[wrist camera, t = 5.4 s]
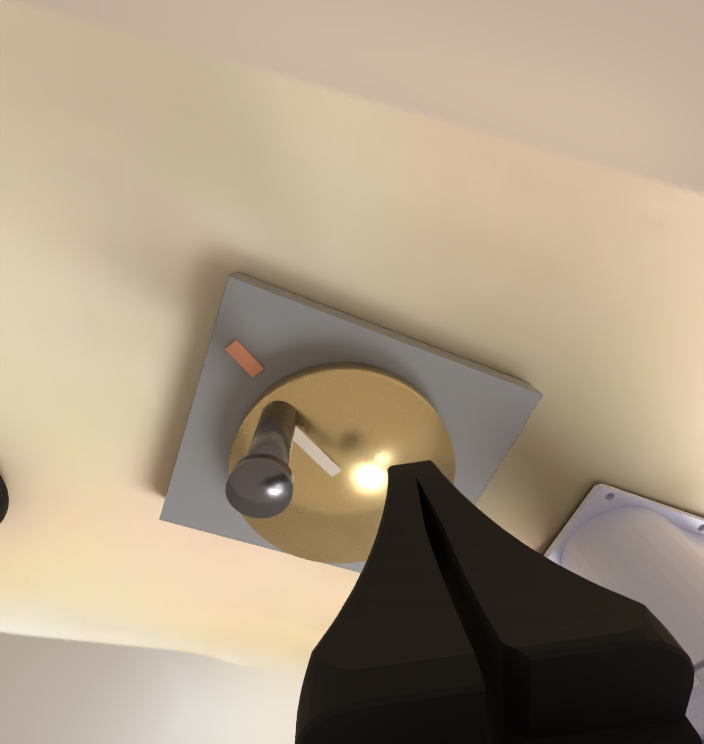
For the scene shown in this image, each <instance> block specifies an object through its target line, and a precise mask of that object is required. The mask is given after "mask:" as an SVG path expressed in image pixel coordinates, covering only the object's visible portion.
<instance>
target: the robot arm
mask: <svg viewBox="0 0 704 744" xmlns="http://www.w3.org/2000/svg"><path fill="white" fill-rule="evenodd" d="M387 472H388V487H387V495H386V500H385V505H384V510H383V514H382V518H381V521H380V525H379V528H378V532H377V535H376V538H375V541H374V544H373V546H372V549H371V551H370V554H369V556H368V559H367V561H366V563H365V566H364V568H363V570H362V572H361V574H360V576H359V578H358V580H357V582H356V584H355V586H354V588H353V590H352V592H351V594H350V595H349V597H348V599H347V600H346V602H345V604H344V605H343V607H342V609H341V610H340V612H339V614H338V616H337V617H336V619H335V620H334V622H333V623H332V625H331V626H330V627H329V629H328V630H327V632H326V633H325V634H324V636H323V637H322V639H321V640H320V641H319V643H318V644H317V646H316V647H315V648H314V650H313V651H312V654H311V657H310V660H309V663H308V667H307V670H306V674H305V677H304V681H303V685H302V689H301V694H300V700H299V706H298V711H297V721H296V735H295V744H704V518H702V517H699V516H696V515H693V514H690V513H687V512H684V511H681V510H678V509H675V508H672V507H670V506H667V505H664V504H661V503H658V502H655V501H652V500H649V499H646V498H643V497H640V496H638V495H635V494H632V493H629V492H626V491H623V490H620V489H617V488H614V487H611V486H608V485H606V484H597V485H596V486H594V487H593V488H592V490H591V491H590V492H589V494H588V495H587V496H586V498H585V499H584V501H583V502H582V503H581V505H580V506H579V507H578V509H577V510H576V512H575V513H574V514H573V516H572V517H571V518H570V520H569V521H568V522H567V524H566V525H565V527H564V528H563V529H562V531H561V532H560V533H559V535H558V536H557V538H556V539H555V540H554V542H553V543H552V544H551V546H550V547H549V548H548V550H547V551H546V553H545V554H544V555H541V554H540V553H538V552H536V551H535V550H533V549H531V548H530V547H528V546H527V545H525V544H524V543H522V542H521V541H519V540H518V539H516V538H515V537H514V536H512V535H511V534H509V533H508V532H507V531H505V530H504V529H503V528H501V527H500V526H499V525H497V524H496V523H495V522H494V521H492V520H491V519H490V518H489V517H488V516H486V515H485V514H484V513H483V512H482V511H480V510H479V509H478V508H477V507H476V506H475V505H474V504H473V503H472V502H471V501H469V500H468V499H467V498H466V497H465V496H464V495H463V494H462V493H461V492H460V491H459V490H458V489H457V488H456V487H455V486H454V485H453V484H452V483H451V482H450V481H449V480H448V479H447V477H446V476H445V475H444V474H443V473H442V472H441V471H440V470H439V468H438V467H437V466H436V465H435V464H434V463H433V462H432V461H431V460H427V461H420V462H413V463H406V464H399V465H392V466H390V467H389V468H388V469H387ZM609 493H610V494H609ZM607 494H608V495H607ZM606 495H607V496H606Z"/></svg>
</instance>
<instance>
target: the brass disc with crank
mask: <svg viewBox="0 0 704 744" xmlns="http://www.w3.org/2000/svg"><path fill="white" fill-rule="evenodd" d="M427 460H431V461H432V462H433V463H434V464H435V465H436V466H437V467H438V468H439V470H440V471H441V472H442V473H443V474H444V475H445V476H446V477H447V479H448V480H449V481H450V482H451V483H452V484H453V485H454V479H455V472H456V466H455V454H454V448H453V445H452V442H451V439H450V436H449V433H448V432H447V430H446V428H445V426H444V424H443V422H442V420H441V418H440V416H439V414H438V412H437V410H436V408H435V407H434V406H433V404H432V403H431V402H430V400H429V399H428V398H427V397H426V396H425V395H424V394H423V393H422V392H421V391H420V390H419V388H417V387H416V386H415V385H413V384H412V383H411V382H409V381H408V380H406V379H405V378H403V377H401V376H399V375H398V374H396V373H394V372H391V371H389V370H386V369H384V368H381V367H377V366H373V365H370V364H364V363H357V362H331V363H322V364H318V365H314V366H310V367H306V368H304V369H301V370H298V371H296V372H293V373H291V374H289V375H287V376H286V377H284V378H282V379H280V380H279V381H277V382H276V383H274V384H273V385H272V386H270V387H269V388H268V389H267V390H266V391H265V392H264V393H262V394H261V395H260V396H259V397H258V399H257V400H256V401H255V402H254V404H253V405H252V406H251V407H250V409H249V411H248V412H247V414H246V416H245V418H244V419H243V422H242V424H241V426H240V429H239V431H238V433H237V436H236V438H235V441H234V443H233V446H232V450H231V454H230V459H229V478H228V480H227V483H226V488H225V492H226V497H227V499H228V501H229V503H230V504H231V506H232V507H233V508H234V509H235V510H237V511H238V512H239V513H241V514H242V516H243V517H244V519H245V520H246V521H247V523H248V524H249V525H250V526H251V527H252V529H253V530H255V531H256V532H257V533H258V534H259V535H260V536H261V537H262V538H264V539H265V540H266V541H268V542H269V543H271V544H272V545H274V546H275V547H277V548H279V549H281V550H283V551H285V552H287V553H289V554H292V555H294V556H297V557H300V558H304V559H307V560H311V561H317V562H323V563H335V564H337V563H356V562H363V561H367V559H368V556H369V554H370V551H371V549H372V546H373V544H374V541H375V538H376V535H377V532H378V528H379V525H380V521H381V518H382V514H383V510H384V505H385V500H386V495H387V487H388V472H387V469H388V468H389V467H390V466H392V465H399V464H406V463H413V462H420V461H427Z"/></svg>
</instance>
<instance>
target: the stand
mask: <svg viewBox="0 0 704 744" xmlns="http://www.w3.org/2000/svg"><path fill="white" fill-rule="evenodd" d="M331 362H357V363H364V364H370V365H373V366H377V367H381V368H384V369H386V370H389V371H391V372H394V373H396V374H398V375H399V376H401V377H403V378H405V379H406V380H408V381H409V382H411V383H412V384H413V385H415V386H416V387H417V388H419V390H420V391H421V392H422V393H423V394H424V395H425V396H426V397H427V398H428V399H429V400H430V402H431V403H432V404H433V406H434V407H435V408H436V410H437V412H438V414H439V416H440V418H441V420H442V422H443V424H444V426H445V428H446V430H447V432H448V433H449V436H450V439H451V442H452V445H453V448H454V454H455V466H456V472H455V479H454V486H455V487H456V488H457V489H458V490H459V491H460V492H461V493H462V494H463V495H464V496H465V497H466V498H467V499H468V500H469V501H471V502H472V503H473V504H474V505H475V504H476V502H477V501H478V499H479V498H480V496H481V494H482V493H483V491H484V490H485V488H486V486H487V485H488V483H489V481H490V480H491V478H492V477H493V475H494V473H495V472H496V470H497V469H498V467H499V465H500V464H501V462H502V460H503V459H504V457H505V456H506V454H507V452H508V451H509V449H510V447H511V446H512V444H513V443H514V441H515V439H516V438H517V436H518V435H519V433H520V431H521V430H522V428H523V426H524V425H525V423H526V422H527V420H528V418H529V417H530V415H531V414H532V412H533V410H534V409H535V407H536V405H537V404H538V402H539V401H540V399H541V397H542V396H543V395H542V394H541V393H540V392H539V391H537V390H536V389H535V388H534V387H533V386H532V385H531V384H530V383H527V382H525V381H522V380H519V379H517V378H514V377H511V376H509V375H506V374H504V373H501V372H498V371H496V370H493V369H490V368H488V367H485V366H483V365H480V364H477V363H475V362H472V361H469V360H467V359H464V358H462V357H459V356H456V355H454V354H451V353H448V352H446V351H443V350H441V349H438V348H435V347H433V346H430V345H427V344H425V343H422V342H420V341H417V340H414V339H412V338H409V337H407V336H404V335H401V334H399V333H396V332H393V331H391V330H388V329H386V328H383V327H380V326H378V325H375V324H372V323H370V322H367V321H365V320H362V319H359V318H357V317H354V316H351V315H349V314H346V313H344V312H341V311H338V310H336V309H333V308H330V307H328V306H325V305H323V304H320V303H317V302H315V301H312V300H309V299H307V298H304V297H302V296H299V295H296V294H294V293H291V292H289V291H286V290H283V289H281V288H278V287H275V286H273V285H270V284H268V283H265V282H262V281H260V280H257V279H254V278H252V277H249V276H247V275H244V274H241V273H239V272H235V273H234V274H232V275H230V276H229V278H228V281H227V285H226V288H225V292H224V295H223V299H222V302H221V306H220V309H219V313H218V316H217V320H216V323H215V327H214V330H213V334H212V337H211V341H210V344H209V348H208V351H207V355H206V358H205V362H204V365H203V369H202V372H201V376H200V379H199V383H198V386H197V390H196V393H195V397H194V400H193V404H192V407H191V411H190V414H189V418H188V421H187V425H186V428H185V432H184V435H183V439H182V442H181V446H180V449H179V453H178V456H177V460H176V463H175V467H174V470H173V474H172V477H171V481H170V484H169V488H168V491H167V495H166V498H165V502H164V505H163V509H162V512H161V516H160V519H159V520H163V521H166V522H170V523H174V524H178V525H181V526H185V527H189V528H193V529H197V530H200V531H204V532H208V533H212V534H216V535H219V536H223V537H227V538H231V539H235V540H238V541H242V542H246V543H250V544H254V545H257V546H261V547H265V548H269V549H273V550H276V551H280V552H284V553H287V552H285V551H283V550H281V549H279V548H277V547H275V546H274V545H272V544H271V543H269V542H268V541H266V540H265V539H264V538H262V537H261V536H260V535H259V534H258V533H257V532H256V531H255V530H253V529H252V527H251V526H250V525H249V524H248V523H247V521H246V520H245V519H244V517H243V516H242V514H241V513H239V512H238V511H237V510H235V509H234V508H233V507H232V506H231V504H230V503H229V501H228V499H227V497H226V492H225V488H226V483H227V480H228V478H229V459H230V454H231V450H232V446H233V443H234V441H235V438H236V436H237V433H238V431H239V429H240V426H241V424H242V422H243V419H244V418H245V416H246V414H247V412H248V411H249V409H250V407H251V406H252V405H253V404H254V402H255V401H256V400H257V399H258V397H259V396H260V395H261V394H262V393H264V392H265V391H266V390H267V389H268V388H269V387H270V386H272V385H273V384H274V383H276V382H277V381H279V380H280V379H282V378H284V377H286V376H287V375H289V374H291V373H293V372H296V371H298V370H301V369H304V368H306V367H310V366H314V365H318V364H322V363H331ZM288 554H289V553H288ZM322 563H323V562H322ZM365 563H366V561H363V562H356V563H337V564H335V563H326V564H329V565H333V566H337V567H341V568H345V569H348V570H352V571H356V572H360V573H361V572H362V570H363V568H364V566H365Z"/></svg>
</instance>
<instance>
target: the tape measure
mask: <svg viewBox="0 0 704 744" xmlns="http://www.w3.org/2000/svg"><path fill="white" fill-rule="evenodd" d="M8 505H9V497H8V490H7V488H6V485H5V483H4V481H3V479H2V477H1V475H0V523H1V522H2V521H3V519H4V517H5V515H6V513H7V510H8Z"/></svg>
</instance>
